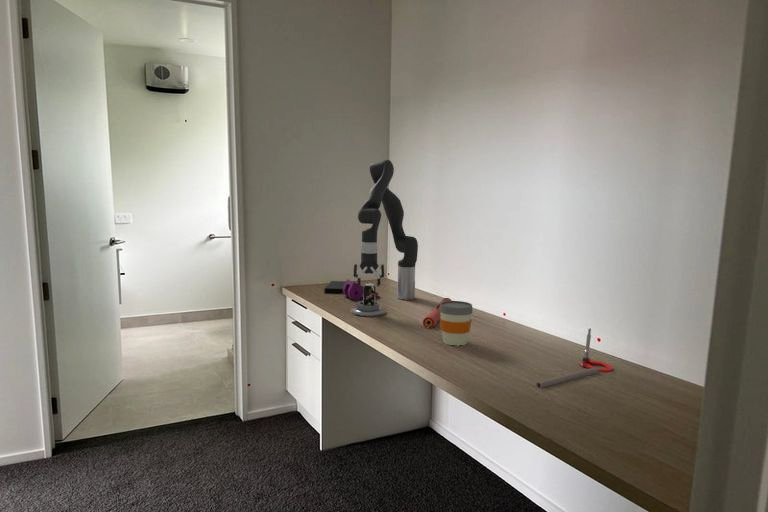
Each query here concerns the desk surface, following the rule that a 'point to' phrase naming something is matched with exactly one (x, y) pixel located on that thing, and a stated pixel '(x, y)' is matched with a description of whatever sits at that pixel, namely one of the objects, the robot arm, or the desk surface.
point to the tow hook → (588, 361)
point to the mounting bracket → (353, 290)
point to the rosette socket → (368, 309)
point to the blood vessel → (433, 315)
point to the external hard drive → (335, 287)
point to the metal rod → (567, 377)
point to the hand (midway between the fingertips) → (368, 286)
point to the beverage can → (369, 294)
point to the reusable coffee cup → (455, 321)
